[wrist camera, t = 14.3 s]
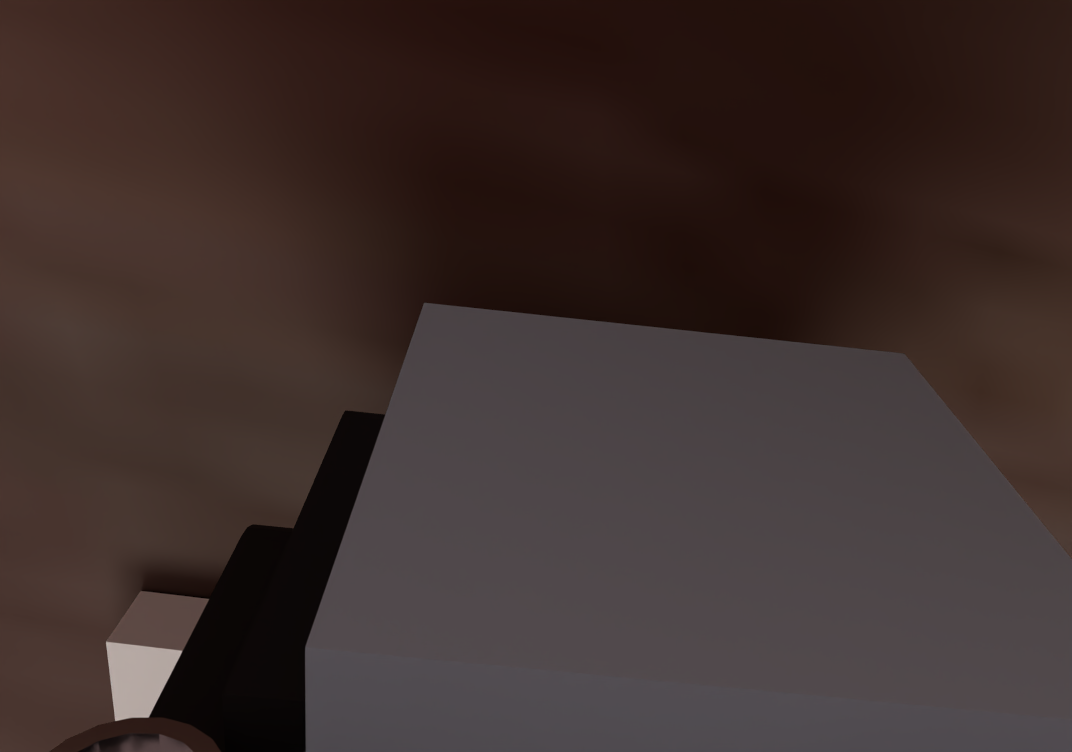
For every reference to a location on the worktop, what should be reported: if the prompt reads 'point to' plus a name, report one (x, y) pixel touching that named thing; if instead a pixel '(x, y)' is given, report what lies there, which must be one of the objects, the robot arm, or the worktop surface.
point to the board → (148, 649)
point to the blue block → (682, 556)
